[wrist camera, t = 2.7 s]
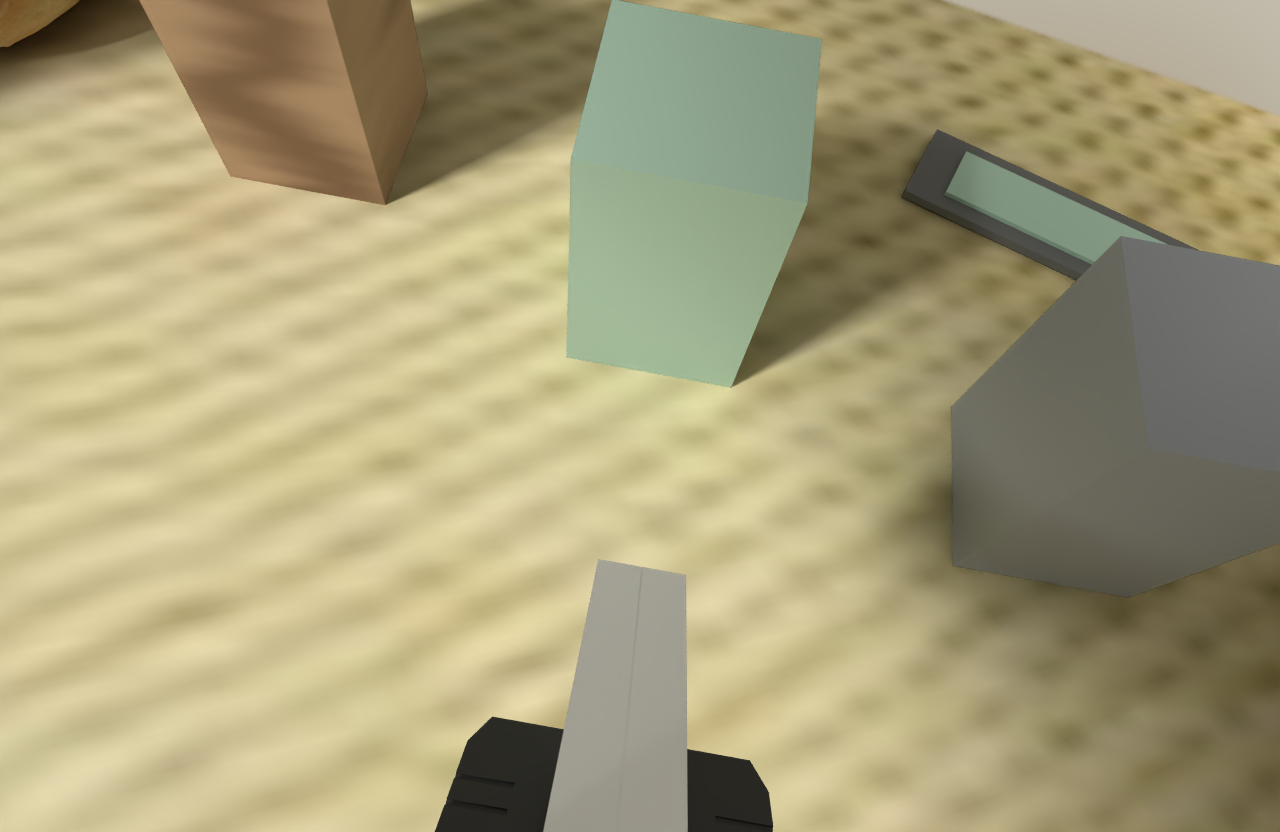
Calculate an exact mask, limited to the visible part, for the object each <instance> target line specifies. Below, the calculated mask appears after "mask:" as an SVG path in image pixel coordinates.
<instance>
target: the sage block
mask: <svg viewBox="0 0 1280 832" xmlns="http://www.w3.org/2000/svg"><path fill="white" fill-rule="evenodd" d="M821 43H822V39H819V38H814V37H808V36H803V35H798V34H793V33H787V32H782V31H777V30H772V29H766V28H761V27H756V26H751V25H745V24H740V23H735V22H730V21H724V20H719V19H714V18H709V17H704V16H698V15H693V14H688V13H683V12H677V11H672V10H667V9H662V8H656V7H651V6H646V5H641V4H635V3H630V2H625V1H620V0H612V2H611V6H610V9H609V13H608V17H607V21H606V25H605V29H604V33H603V36H602V40H601V44H600V48H599V52H598V56H597V60H596V63H595V67H594V71H593V75H592V79H591V83H590V87H589V90H588V94H587V98H586V102H585V106H584V110H583V114H582V118H581V121H580V125H579V129H578V133H577V137H576V141H575V145H574V148H573V152H572V156H571V172H570V218H569V264H568V310H567V356H566V357H567V358H573V359H578V360H584V361H589V362H594V363H600V364H605V365H611V366H616V367H621V368H627V369H632V370H638V371H643V372H649V373H654V374H659V375H665V376H670V377H676V378H681V379H687V380H692V381H697V382H703V383H708V384H714V385H719V386H725V387H730V388H731V386H732V384H733V381H734V379H735V377H736V374H737V372H738V369H739V367H740V365H741V362H742V360H743V357H744V355H745V353H746V350H747V348H748V345H749V343H750V341H751V338H752V336H753V333H754V331H755V329H756V326H757V324H758V321H759V319H760V317H761V314H762V312H763V309H764V307H765V305H766V302H767V300H768V297H769V295H770V293H771V290H772V288H773V285H774V283H775V281H776V278H777V276H778V273H779V271H780V269H781V266H782V264H783V261H784V259H785V257H786V254H787V252H788V249H789V247H790V245H791V242H792V240H793V237H794V235H795V233H796V230H797V228H798V225H799V223H800V221H801V218H802V216H803V213H804V211H805V209H806V206H807V204H808V193H809V182H810V170H811V159H812V147H813V135H814V124H815V112H816V101H817V89H818V78H819V66H820V54H821Z"/></svg>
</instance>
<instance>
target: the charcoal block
mask: <svg viewBox="0 0 1280 832" xmlns="http://www.w3.org/2000/svg"><path fill="white" fill-rule="evenodd" d="M951 443H952V529H953V566H957V567H963V568H968V569H974V570H979V571H985V572H990V573H996V574H1001V575H1007V576H1012V577H1018V578H1023V579H1029V580H1034V581H1040V582H1045V583H1051V584H1056V585H1062V586H1067V587H1073V588H1078V589H1084V590H1089V591H1095V592H1100V593H1106V594H1111V595H1117V596H1122V597H1128V598H1129V597H1132V596H1135V595H1137V594H1140V593H1143V592H1146V591H1148V590H1151V589H1154V588H1157V587H1159V586H1162V585H1165V584H1168V583H1170V582H1173V581H1176V580H1179V579H1181V578H1184V577H1187V576H1190V575H1192V574H1195V573H1198V572H1201V571H1203V570H1206V569H1209V568H1212V567H1215V566H1217V565H1220V564H1223V563H1226V562H1228V561H1231V560H1234V559H1237V558H1239V557H1242V556H1245V555H1248V554H1250V553H1253V552H1256V551H1259V550H1261V549H1264V548H1267V547H1270V546H1272V545H1275V544H1278V543H1280V266H1278V265H1273V264H1268V263H1262V262H1257V261H1252V260H1247V259H1241V258H1236V257H1231V256H1225V255H1220V254H1215V253H1209V252H1204V251H1199V250H1194V249H1188V248H1183V247H1178V246H1172V245H1167V244H1162V243H1156V242H1151V241H1146V240H1140V239H1135V238H1130V237H1125V236H1120V237H1119V238H1118V239H1117V240H1116V241H1115V242H1114V243H1113V244H1112V245H1111V246H1110V247H1109V248H1108V249H1107V250H1106V251H1105V252H1104V253H1103V254H1102V255H1101V256H1100V257H1099V258H1098V259H1097V260H1096V261H1095V262H1094V263H1093V264H1092V265H1091V266H1090V267H1089V268H1088V269H1087V270H1086V272H1085V273H1084V274H1083V275H1082V276H1081V277H1080V278H1079V279H1078V280H1077V281H1076V282H1075V283H1074V284H1073V285H1072V286H1071V287H1070V288H1069V289H1068V290H1067V291H1066V292H1065V293H1064V294H1063V295H1062V296H1061V297H1060V298H1059V299H1058V300H1057V301H1056V302H1055V303H1054V304H1053V305H1052V306H1051V307H1050V308H1049V309H1048V310H1047V311H1046V312H1045V313H1044V314H1043V315H1042V316H1041V317H1040V318H1039V319H1038V320H1037V321H1036V322H1035V323H1034V324H1033V325H1032V326H1031V327H1030V328H1029V329H1028V330H1027V331H1026V332H1025V333H1024V334H1023V335H1022V336H1021V337H1020V338H1019V339H1018V340H1017V341H1016V342H1015V343H1014V344H1013V345H1012V346H1011V347H1010V348H1009V349H1008V350H1007V351H1006V352H1005V353H1004V354H1003V355H1002V356H1001V357H1000V358H999V359H998V360H997V361H996V362H995V363H994V364H993V365H992V366H991V367H990V368H989V369H988V370H987V371H986V372H985V373H984V374H983V375H982V376H981V377H980V378H979V379H978V380H977V381H976V382H975V383H974V384H973V385H972V387H971V388H970V389H969V390H968V391H967V392H966V393H965V394H964V395H963V396H962V397H961V398H960V399H959V400H958V401H957V402H956V403H955V404H954V405H953V406H952V407H951Z"/></svg>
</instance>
